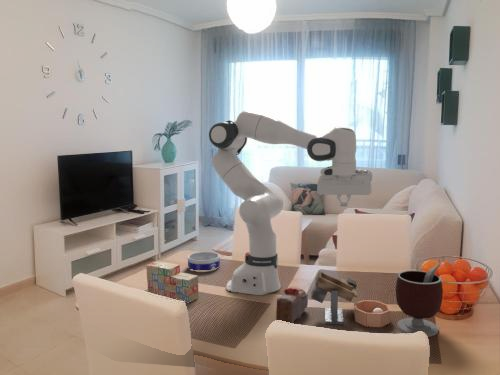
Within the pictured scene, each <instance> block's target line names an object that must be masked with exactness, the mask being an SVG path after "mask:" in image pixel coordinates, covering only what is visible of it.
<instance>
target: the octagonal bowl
mask: <svg viewBox="0 0 500 375" xmlns="http://www.w3.org/2000/svg"><path fill="white" fill-rule="evenodd" d="M353 306H354V307H353V311H354V312H353V313H354V314H353V316H354V317H353V318H354V322H355V323H357V324H360V325H362V326H365V327H368V326H369V327H368V328H383V327H385V326H387V324H388V325H390V324H391V309H390V306H389V304H387V303H383V302H382V301H379V300H370V299H368V300H367V299H362V300H359V301H357V302H354V305H353ZM375 308H380V309H382V310H383V312H382V313H373V310H374V309H375ZM389 323H390V324H389Z"/></svg>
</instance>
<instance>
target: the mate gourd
mask: <svg viewBox="0 0 500 375" xmlns="http://www.w3.org/2000/svg"><path fill="white" fill-rule="evenodd" d="M440 267H441V264H439V263H438V264H437V265H434V266H433V267H431V268H430V269H428V271H424V270H416V269H415V270H412V269H411V270H403V271H400V272H398V273H397V279H396V284H395V300H396V303H397V306H398V308H400V310H401V312H402V313H404V314H405V315H406V316H408V317H406V318H401V319H399V320H398V322H397V328H398V329H399V331H401V332H402V333H404V332H405V334H407V333H414V332H417V331H423V332H425V333H426V334H427V336H428V337H429V338H430V337H433V336H436V335H437V334H438V333H439V327H438V326H437V325H436V324H435V323H434V322H432V321H429V320H427V319H430V318H433V317H434V316H436V314H438V312H439V311H440V310H441V307H442V302H443V298H444V297H443V292H444V290H443V282H442V278H441V276H439V275H438V274H436V272H437V270H438V268H440ZM428 337H427V338H428Z"/></svg>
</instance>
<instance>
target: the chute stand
mask: <svg viewBox="0 0 500 375" xmlns="http://www.w3.org/2000/svg"><path fill="white" fill-rule="evenodd" d="M338 297H339V296H338V290H333V289H331V292H330V307H324V323H325V325H332V324H339V325H338V326H344V325H345V322H344V321H345V320H344V313H343V312H344V311H343V308H338V306H339V304H338V303H339V299H338Z"/></svg>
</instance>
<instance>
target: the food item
mask: <svg viewBox="0 0 500 375" xmlns="http://www.w3.org/2000/svg"><path fill="white" fill-rule="evenodd" d="M308 296H309V295H308V294H307V293H306V291H305V290H304V289H302V288H300V287H297V286H296V287H295V286H293V287H291V286H290V287H288V288H285V289H284V290H283V294H281V296H279V297H278V298H276V310H275V314H276V315H275V317H276V318H275V319H276V321H277V320H282V321H286V322H290V323H292V324H293V323H294V322H295V320H297V319H300V318H301V317H302V314H304V312H305V310H306V309H307V308H308V305H309V304H308V303H309V301H308Z"/></svg>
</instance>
